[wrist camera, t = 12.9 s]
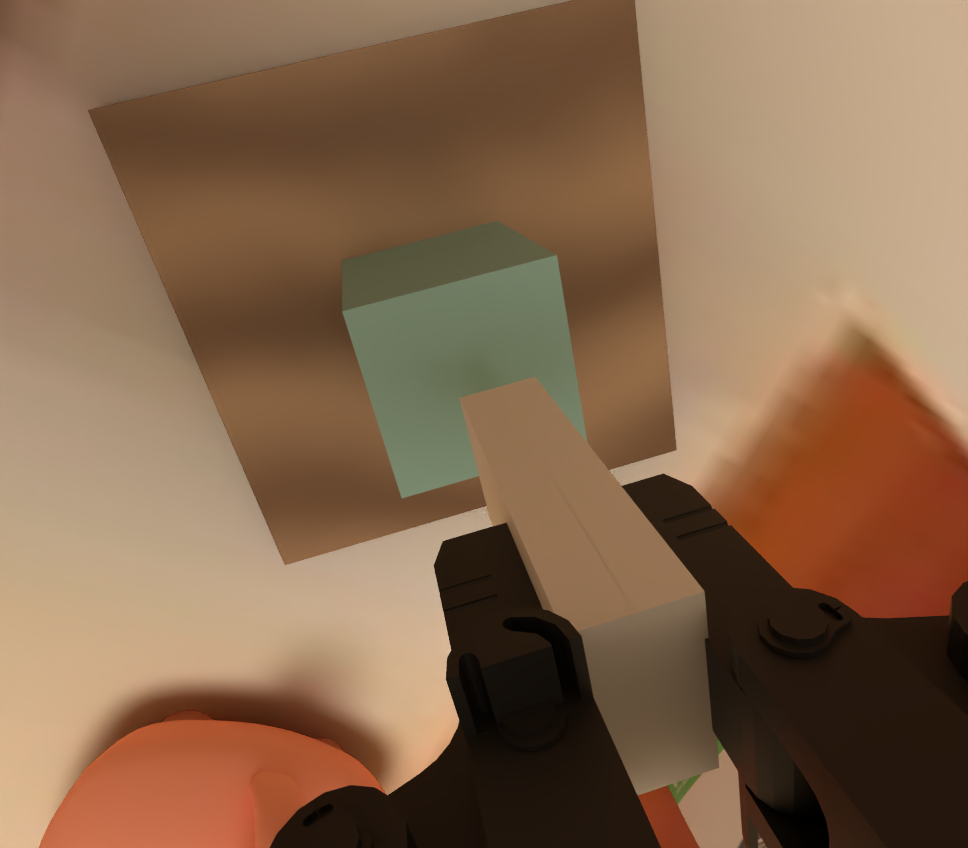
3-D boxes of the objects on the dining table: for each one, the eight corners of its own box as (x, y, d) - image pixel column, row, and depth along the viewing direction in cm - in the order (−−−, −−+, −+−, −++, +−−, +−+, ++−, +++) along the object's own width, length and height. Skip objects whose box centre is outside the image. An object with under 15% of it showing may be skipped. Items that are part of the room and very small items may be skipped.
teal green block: (341, 260, 21) (342, 311, 15) (497, 220, 22) (556, 254, 16) (386, 405, 23) (401, 498, 17) (526, 366, 24) (587, 444, 18)
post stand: (97, 111, 19) (4, 103, 14) (622, -9, 20) (720, -57, 15) (286, 553, 26) (272, 659, 21) (667, 441, 27) (744, 514, 22)
